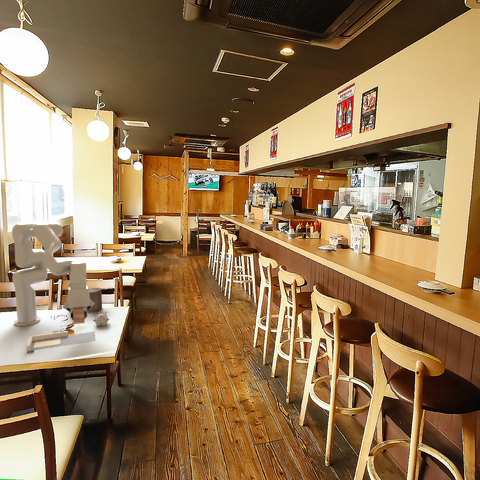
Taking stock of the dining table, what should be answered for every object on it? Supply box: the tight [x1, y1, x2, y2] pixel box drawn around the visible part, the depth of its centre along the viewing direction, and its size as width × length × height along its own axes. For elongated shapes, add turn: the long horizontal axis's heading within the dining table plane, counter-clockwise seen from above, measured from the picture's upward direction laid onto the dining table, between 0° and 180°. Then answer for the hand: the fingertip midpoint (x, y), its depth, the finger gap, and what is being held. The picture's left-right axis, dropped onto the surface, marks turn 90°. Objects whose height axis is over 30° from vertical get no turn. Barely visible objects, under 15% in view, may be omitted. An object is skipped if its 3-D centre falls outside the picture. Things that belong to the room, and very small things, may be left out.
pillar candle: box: [87, 287, 103, 313], centre depth 212 cm, size 10×10×15 cm
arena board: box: [26, 330, 97, 354], centre depth 167 cm, size 12×30×4 cm, turn 116°
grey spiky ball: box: [92, 312, 111, 327], centre depth 187 cm, size 9×8×10 cm
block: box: [72, 307, 85, 325], centre depth 169 cm, size 10×5×7 cm, turn 26°
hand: (78, 318), depth 169 cm, fingers closed on block, 5 cm apart
